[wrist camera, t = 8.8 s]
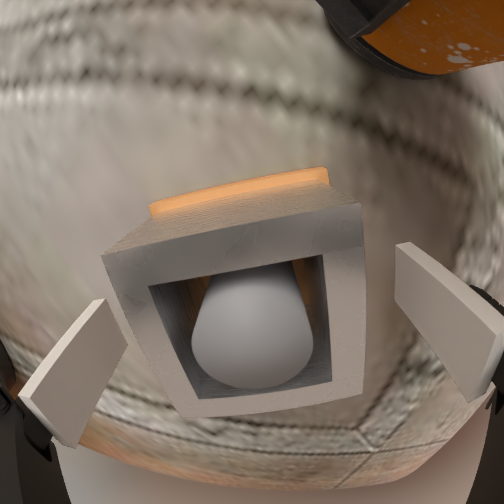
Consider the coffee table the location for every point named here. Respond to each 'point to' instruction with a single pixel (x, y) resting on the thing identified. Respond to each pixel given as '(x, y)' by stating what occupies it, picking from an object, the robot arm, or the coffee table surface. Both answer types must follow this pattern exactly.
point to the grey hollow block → (241, 257)
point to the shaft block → (252, 305)
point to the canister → (421, 33)
